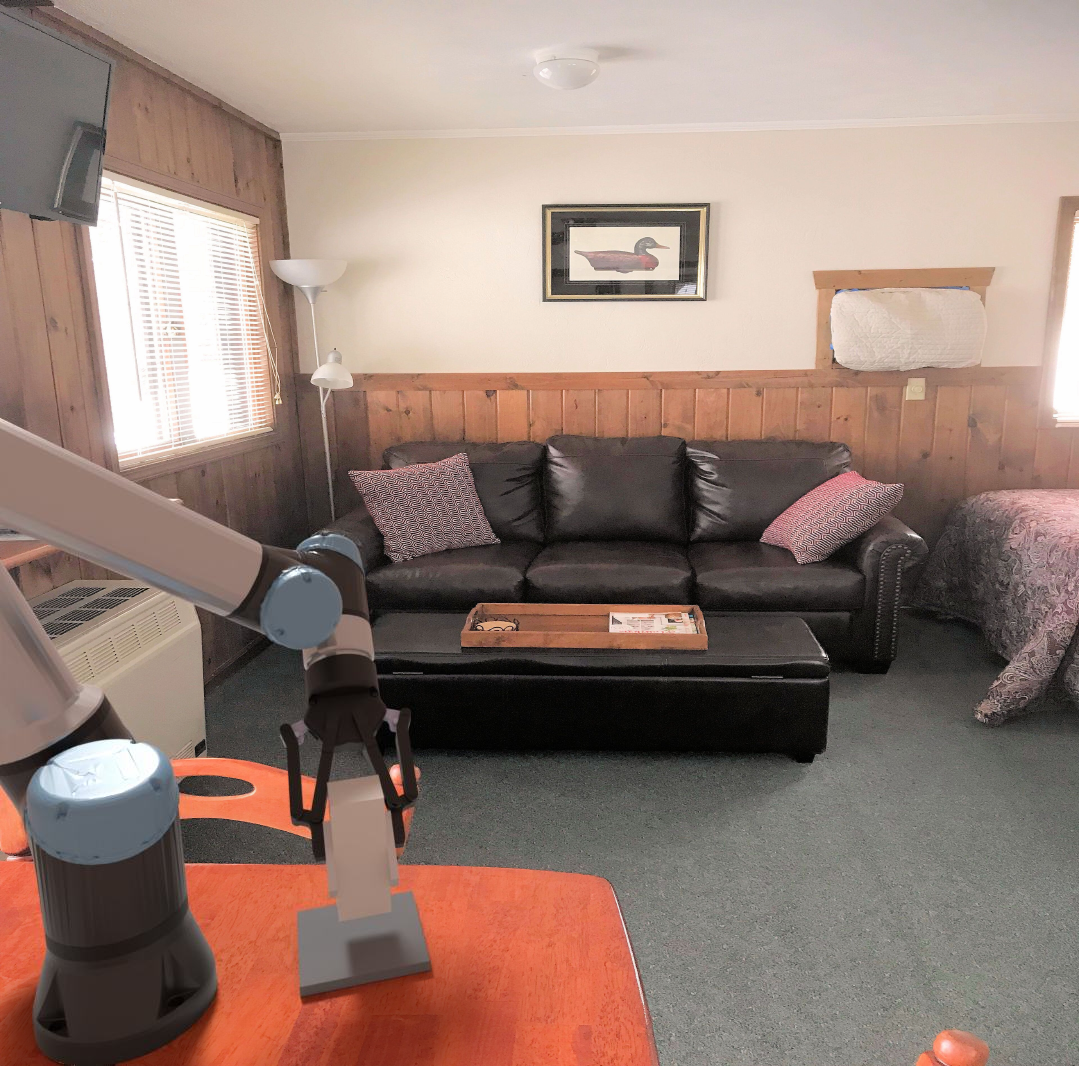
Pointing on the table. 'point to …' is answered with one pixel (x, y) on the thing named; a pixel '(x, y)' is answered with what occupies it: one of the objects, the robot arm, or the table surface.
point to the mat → (359, 946)
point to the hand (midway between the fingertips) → (364, 888)
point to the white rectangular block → (359, 847)
